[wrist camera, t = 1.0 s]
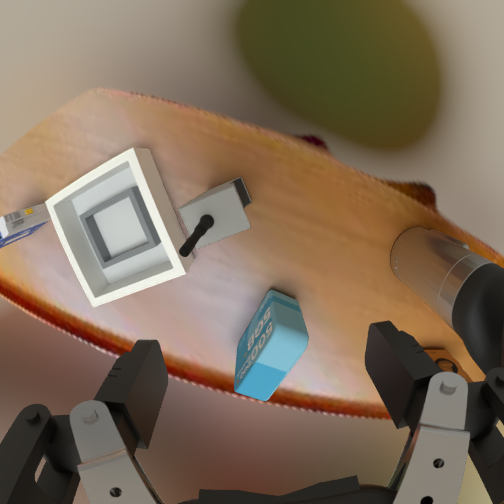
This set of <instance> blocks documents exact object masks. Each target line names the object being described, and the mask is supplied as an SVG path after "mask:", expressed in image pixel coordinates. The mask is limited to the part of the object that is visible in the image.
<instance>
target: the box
mask: <svg viewBox="0 0 504 504" xmlns="http://www.w3.org/2000/svg"><path fill="white" fill-rule="evenodd" d="M45 203H46V206H47V208H48V211H49V214H50V216H51V219H52V221H53V224H54V226H55V229H56V231H57V234H58V236H59V238H60V241H61V243H62V245H63V248H64V250H65V252H66V254H67V256H68V259H69V261H70V263H71V265H72V267H73V269H74V271H75V273H76V275H77V277H78V279H79V281H80V283H81V285H82V287H83V289H84V291H85V293H86V295H87V297H88V299H89V300H90V302H91V304H92V306H93V307H96V306H99V305H101V304H104V303H107V302H110V301H112V300H115V299H118V298H121V297H123V296H126V295H129V294H132V293H134V292H137V291H140V290H143V289H145V288H148V287H151V286H154V285H156V284H159V283H162V282H165V281H168V280H170V279H173V278H176V277H179V276H181V275H184V274H186V273H187V271H188V270H189V268H190V266H191V264H192V263H193V261H194V259H195V258H194V255H193V253H192V251H191V253H190V254H189V255H188V256H187V257H182V256H181V255H180V254H179V249H180V248H181V247H182V245H183V244H184V243H185V242H186V237H185V235H184V233H183V230H182V228H181V226H180V223H179V221H178V219H177V216H176V214H175V212H174V209H173V207H172V204H171V202H170V200H169V197H168V195H167V192H166V190H165V187H164V185H163V182H162V180H161V177H160V175H159V172H158V170H157V167H156V165H155V162H154V160H153V157H152V154H151V152H150V149H145V148H134V147H133V148H131V149H129V150H127V151H125V152H123V153H122V154H120V155H118V156H116V157H114V158H113V159H111V160H109V161H107V162H106V163H104V164H102V165H101V166H99V167H97V168H96V169H94V170H92V171H91V172H89V173H87V174H86V175H84V176H83V177H81V178H79V179H78V180H76V181H75V182H73V183H72V184H70V185H69V186H67V187H66V188H64V189H63V190H61V191H60V192H58V193H57V194H55V195H54V196H52V197H51V198H50V199H48V200H47V201H45Z"/></svg>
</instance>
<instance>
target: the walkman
mask: <svg viewBox="0 0 504 504" xmlns="http://www.w3.org/2000/svg"><path fill="white" fill-rule="evenodd" d="M50 219H51V216H50V214H49V211H48V208H47V206H46V203H42V204H39V205H35V206H32V207H28V208H25V209H22V210H19V211H16V212H13V213H10V214H7V215H4V216H2V217H1V218H0V248H2V247H4V246H6V245H8V244H10V243H13V242H15V241H17V240H19V239H21V238H24V237H26V236H28V235H30V234H32V233H33V232H34V231H36V230H37V229H38V228H39V227H41V226H42V225H43V224H45V223H46V222H48V221H49V220H50Z"/></svg>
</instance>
